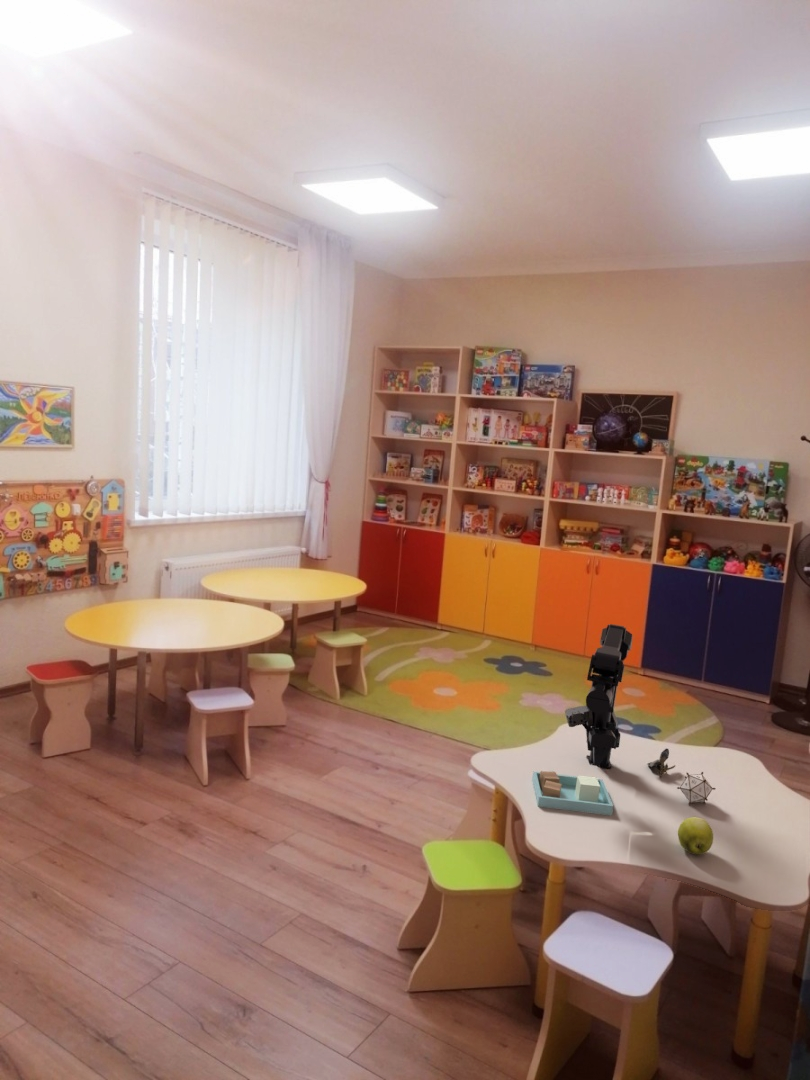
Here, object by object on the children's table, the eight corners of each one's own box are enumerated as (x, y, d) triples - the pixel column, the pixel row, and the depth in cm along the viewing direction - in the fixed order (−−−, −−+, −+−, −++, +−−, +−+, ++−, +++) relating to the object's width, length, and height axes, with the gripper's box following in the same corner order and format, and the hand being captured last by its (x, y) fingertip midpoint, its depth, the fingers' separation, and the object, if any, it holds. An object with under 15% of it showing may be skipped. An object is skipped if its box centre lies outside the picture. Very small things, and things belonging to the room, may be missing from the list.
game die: (684, 815, 209) (665, 783, 209) (698, 796, 215) (680, 764, 215) (713, 813, 202) (693, 780, 202) (726, 793, 208) (707, 761, 208)
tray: (531, 782, 211) (533, 771, 211) (600, 790, 210) (602, 779, 210) (537, 808, 197) (539, 797, 196) (611, 817, 196) (613, 806, 196)
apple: (706, 844, 187) (711, 813, 186) (713, 865, 179) (719, 832, 177) (672, 838, 189) (678, 807, 188) (678, 858, 180) (683, 826, 179)
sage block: (574, 793, 206) (577, 775, 205) (593, 795, 206) (596, 777, 205) (578, 802, 201) (580, 784, 200) (597, 804, 201) (600, 786, 200)
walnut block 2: (544, 794, 203) (546, 780, 203) (559, 798, 202) (561, 784, 202) (541, 801, 200) (543, 786, 199) (557, 805, 198) (559, 790, 198)
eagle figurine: (681, 776, 221) (673, 758, 230) (671, 757, 220) (664, 739, 228) (655, 786, 223) (649, 767, 232) (645, 766, 221) (639, 748, 230)
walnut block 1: (538, 785, 208) (540, 771, 208) (553, 785, 209) (555, 771, 208) (542, 792, 205) (544, 778, 204) (557, 793, 205) (559, 778, 204)
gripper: (564, 684, 209) (556, 739, 211) (575, 710, 191) (566, 770, 193) (606, 689, 208) (598, 744, 211) (620, 715, 190) (612, 775, 192)
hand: (592, 757), depth 202 cm, fingers open, 9 cm apart
